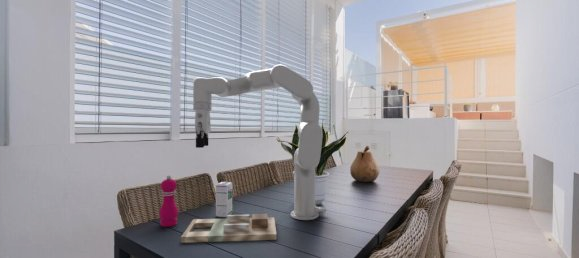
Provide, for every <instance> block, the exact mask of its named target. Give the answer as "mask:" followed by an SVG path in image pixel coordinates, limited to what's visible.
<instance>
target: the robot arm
mask: <svg viewBox="0 0 579 258" xmlns="http://www.w3.org/2000/svg"><path fill="white" fill-rule="evenodd" d="M192 83H193V84H192V85H193V91H192V93H193V96H192V97H193V98H192V99H193V101H192V104H193V105H192V106H193V109H192V110H193V111H195V112H194V113H195V115H194V117H195V118H194V130H195V131H194V132H195V148H197V149H198V148H199V149H200V148H205V147H207V146H209V134H210V133H211V111H212V95H216V96H218V97H220V98H226V97H232V96H238V95H243V94H249V93H254V92H260V91H264V90H269V89H271V90H272V89H276V88H277V89H278V88H282V89H284V90H286V91H287V92H288V93H290V94H291V97H292V98H293V99H294V100H295V101H297V102H298V104H299V106H300V112H299V113H300V114H299V124H298V130H297V136H298V139H299V143H298V148H296V150H295V151H294V155H293V165H294V166H293V169H294V171H293V172H294V178H293V179H294V181H293V183H294V186H293V188H294V190H293V193H294V194H293V210H292V211H291V212H290V216H291V218H293V219H296V220H300V221H310V220H311V221H312V220H316V219H317V218H319V213H326V211H327V208H326V207H323V206H317V205H316V180H317V179H316V177H317V175H316V174H317V173H316V168H317V167H318V165H319V163H320V160H321V154H322V147H323V137H324V136H323V134H324V133H323V129H322V126H321V125H320V123H319V121H320V102H319V100H318V97H317V95H316V94H315V93H314V87H313V84H312V82H311V81H310V80H308V79H307V78H305V77H303V75H301V74H300V73H298V72H296V71H294V70H293V69H292V68H290V67H288V66H286V65H285V64H280V63H279V64H276V65H274V66H273V67H272V68H269V69H261V70H256V71H255V70H254V71H251V72H247V73H246V74H245V75H243V76H239V77H237V78H233V79H226V78H224V77H220V76H219V77H217V76H216V77H211V78H207V77H196V78H194V79H193V82H192Z"/></svg>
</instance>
